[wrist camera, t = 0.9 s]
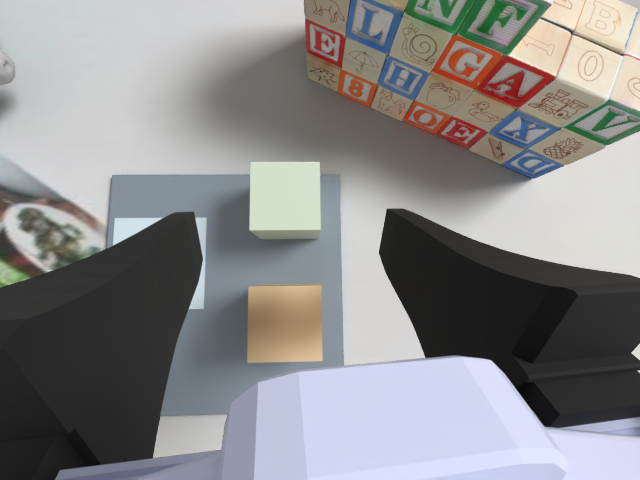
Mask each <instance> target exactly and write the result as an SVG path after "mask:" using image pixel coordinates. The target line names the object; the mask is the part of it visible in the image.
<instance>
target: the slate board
mask: <svg viewBox="0 0 640 480" xmlns="http://www.w3.org/2000/svg"><path fill="white" fill-rule="evenodd" d="M320 211H321V231H320V235H319V239H260V238H259V237H257V236H256V235H255V234H254V233H252V232H251V231H250V230H249V225H250V175H112V186H111V199H110V212H109V225H108V238H107V248H109V247H111V246H113V245H115V244H117V243H119V242H121V241H123V240H125V239H127V238H128V237H130V236H132V235H134V234H136V233H138V232H140V231H141V230H143V229H145V228H147V227H148V226H150V225H152V224H154V223H155V222H157V221H159V220H161V219H162V218H164V217H166V216H168V215H170V214H172V213H175V212H194V214H195V219H196V224H197V229H198V235H199V240H200V245H201V250H202V255H203V262H202V268H201V273H200V278H199V282H198V285H197V288H196V290H195V293H194V296H193V299H192V301H191V304H190V307H189V309H188V312H187V315H186V317H185V320H184V323H183V325H182V328H181V331H180V334H179V337H178V340H177V343H176V347H175V351H174V355H173V359H172V364H171V368H170V372H169V376H168V381H167V386H166V390H165V395H164V399H163V404H162V409H161V415H160V416H176V415H209V414H228V411H229V407H230V404H231V402H232V401H233V400H235V399H236V398H238V397H239V396H240V395H242V394H243V393H244V392H246V391H247V390H248V389H250V388H251V387H253V386H254V385H255V384H257V383H258V382H259V381H261V380H262V379H265V378H269V377H272V376H276V375H280V374H284V373H288V372H292V371H296V370H302V369H313V368H324V367H335V366H344V356H343V311H342V267H341V223H340V179H339V175H320ZM269 284H320V285H322V352H323V361H306V362H265V363H247V348H248V287H249V286H255V285H269Z"/></svg>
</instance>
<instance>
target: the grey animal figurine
mask: <svg viewBox="0 0 640 480" xmlns="http://www.w3.org/2000/svg"><path fill="white" fill-rule="evenodd" d="M14 77H15V66H14V63H13V61H12V60H11V58H10V57H9V56H8V55H7V54H6V53H5V52H4V51H2V50H1V49H0V85H4V84H8V83H10V82H11V81H13V79H14Z"/></svg>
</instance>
